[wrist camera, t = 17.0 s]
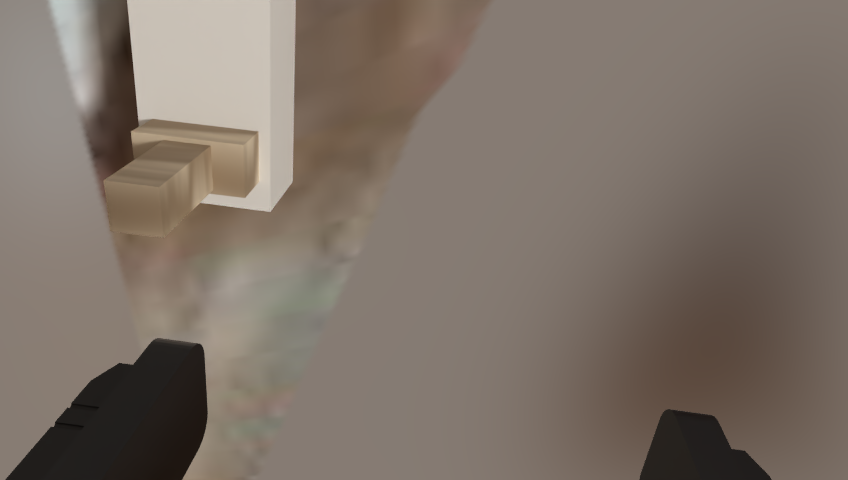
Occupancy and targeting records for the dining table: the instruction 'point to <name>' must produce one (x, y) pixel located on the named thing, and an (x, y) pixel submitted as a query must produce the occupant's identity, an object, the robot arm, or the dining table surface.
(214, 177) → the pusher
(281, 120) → the sweep board
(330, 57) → the dining table surface
